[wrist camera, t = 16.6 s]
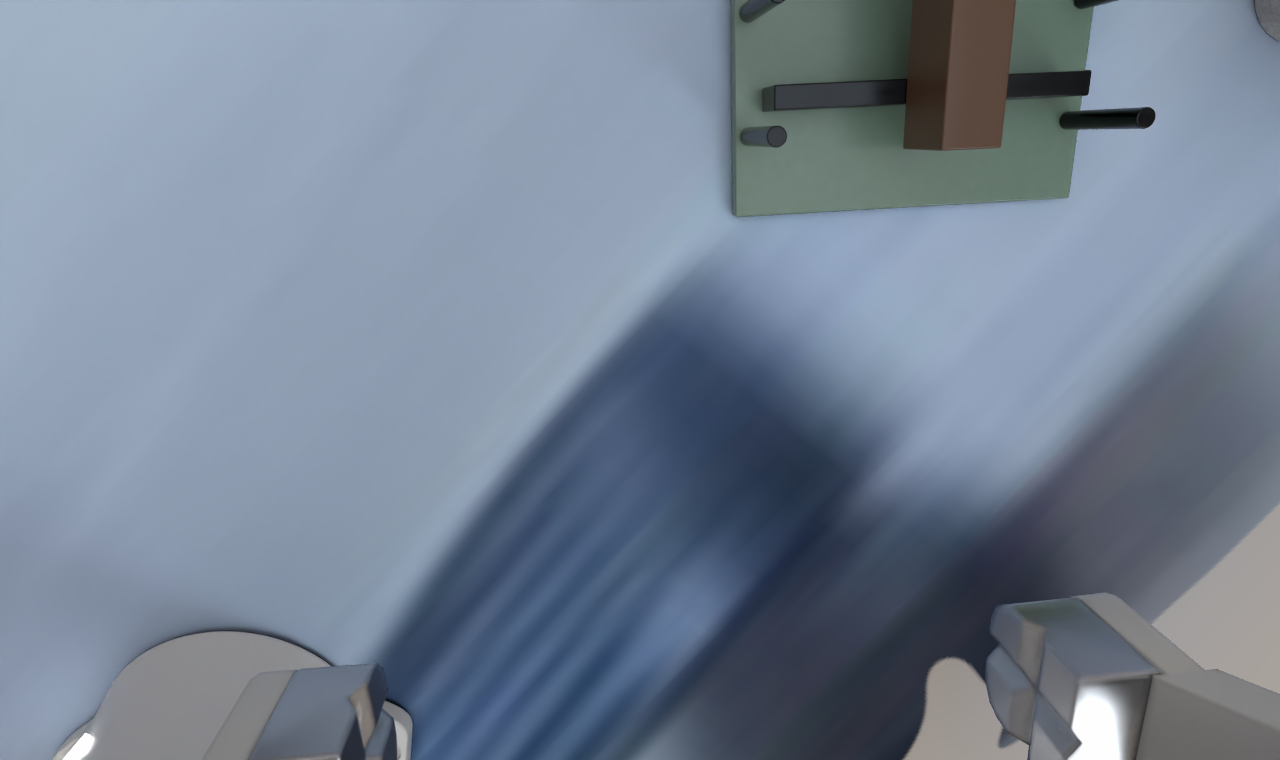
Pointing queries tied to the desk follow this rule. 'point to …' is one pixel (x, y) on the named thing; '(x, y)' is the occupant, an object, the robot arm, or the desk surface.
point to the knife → (958, 74)
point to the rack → (896, 109)
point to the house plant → (1269, 16)
